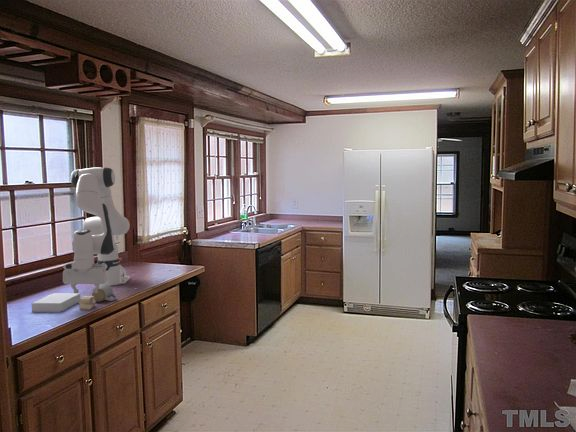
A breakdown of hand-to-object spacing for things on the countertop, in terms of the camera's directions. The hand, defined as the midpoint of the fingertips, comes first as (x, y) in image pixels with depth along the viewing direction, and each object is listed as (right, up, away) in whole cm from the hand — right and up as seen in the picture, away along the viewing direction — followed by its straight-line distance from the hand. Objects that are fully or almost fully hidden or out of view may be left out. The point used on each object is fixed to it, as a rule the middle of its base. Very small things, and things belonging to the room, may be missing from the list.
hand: (85, 293), depth 225 cm
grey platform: (-16, -7, +4) cm, 18 cm away
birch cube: (0, -7, +1) cm, 7 cm away
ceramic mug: (+4, -6, +14) cm, 16 cm away
